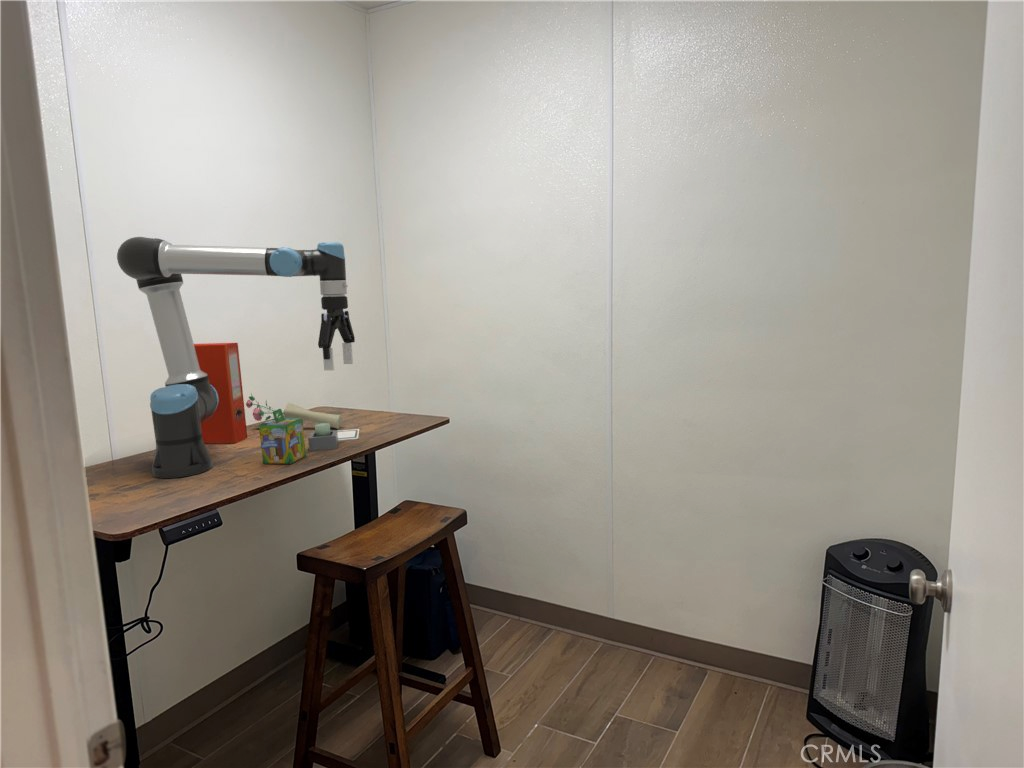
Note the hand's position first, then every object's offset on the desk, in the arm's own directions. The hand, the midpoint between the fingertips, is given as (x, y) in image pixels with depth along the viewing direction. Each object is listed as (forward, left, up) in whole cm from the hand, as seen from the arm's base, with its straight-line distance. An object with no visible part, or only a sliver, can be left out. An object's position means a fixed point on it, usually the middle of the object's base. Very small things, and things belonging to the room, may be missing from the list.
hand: (339, 367), depth 201 cm
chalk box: (-17, -9, -25) cm, 31 cm away
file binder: (-43, +24, -25) cm, 55 cm away
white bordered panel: (-3, +16, -25) cm, 30 cm away
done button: (-7, +3, -22) cm, 23 cm away
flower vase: (-20, +33, -25) cm, 46 cm away
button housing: (-7, +3, -25) cm, 26 cm away
